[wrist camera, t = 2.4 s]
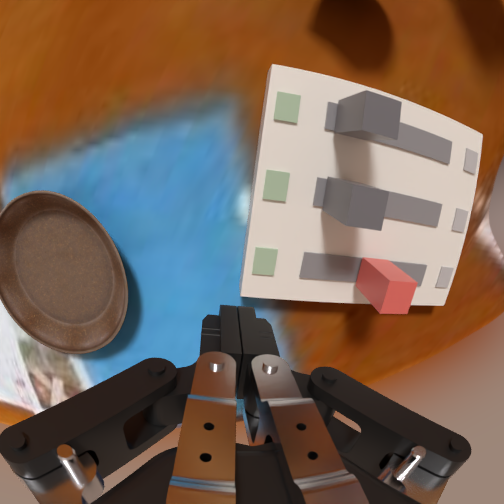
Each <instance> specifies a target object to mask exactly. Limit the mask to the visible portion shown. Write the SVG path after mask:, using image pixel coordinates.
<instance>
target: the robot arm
mask: <svg viewBox="0 0 504 504" xmlns="http://www.w3.org/2000/svg"><path fill="white" fill-rule="evenodd" d="M235 396H237V399H244V408H243V419H244V423H245V428H246V433H247V437H248V442H249V446H248V445H243V444H238V443H236V400H235ZM335 410H336V411H337V412H339V413H341V414H342V415H344V416H346V417H347V418H349V419H351V420H352V421H354V422H355V423H357V424H358V425H359V426H360V428H361V433H360V432H358V431H356V430H354V429H353V428H351V427H349V426H348V425H346V424H345V423H343V422H341V421H340V420H338V419H336V418H335V417H333V415H334V413H335ZM180 423H182V427H181V432H180V437H179V442H178V447H175V448H172V449H168V450H166V451H164V452H162V453H160V454H158V455H156V456H154V457H153V458H151V460H149V461H148V462H146V463H145V464H144V465H142V466H141V467H140V468H139V469H137V470H136V471H135V472H134V473H132V474H131V475H129V476H128V477H127V478H125V479H124V480H123V481H121V482H120V483H119V484H117V485H116V486H115V487H113V488H112V489H111V490H109V491H108V492H106V493H105V494H103V495H102V496H101V497H99V496H100V495H101V494H102V492H103V490H104V480H103V479H104V478H105V477H106V476H108V475H110V474H111V473H113V472H114V471H116V470H117V469H119V468H120V467H122V466H123V465H125V464H126V463H128V462H129V461H131V460H132V459H134V458H135V457H137V456H138V455H140V454H141V453H142V452H144V451H145V450H147V449H148V448H150V447H151V446H152V445H154V444H155V443H157V442H158V441H159V440H161V439H162V438H163V437H165V436H166V435H168V434H169V433H170V432H172V431H173V430H174V429H175V428H176V427H177V424H180ZM0 453H1V454H2V456H3V457H4V459H5V460H6V461H7V463H8V464H9V465H10V467H11V469H12V471H13V472H14V473H15V474H16V476H17V477H18V478H19V479H20V481H21V482H22V483H23V484H24V485H25V486H26V488H27V489H28V490H30V491H31V492H32V494H33V495H34V496H35V498H36V499H37V501H38V502H39V504H437V502H438V500H439V498H440V496H441V494H442V492H443V490H444V488H445V486H446V484H447V482H448V479H449V478H450V477H451V476H452V475H453V474H454V473H455V472H456V471H457V470H458V469H459V468H460V467H461V466H462V465H463V464H464V463H465V462H466V460H467V459H468V458H469V456H470V455H471V447H470V444H469V442H468V441H467V440H466V439H465V438H464V437H463V436H461V435H459V434H457V433H455V432H453V431H451V430H449V429H447V428H445V427H442V426H441V425H438V424H436V423H435V422H433V421H431V420H429V419H427V418H425V417H423V416H421V415H419V414H417V413H415V412H413V411H411V410H409V409H407V408H405V407H404V406H402V405H400V404H398V403H396V402H394V401H392V400H390V399H389V398H387V397H385V396H383V395H381V394H379V393H378V392H376V391H374V390H372V389H371V388H369V387H367V386H365V385H363V384H362V383H360V382H358V381H356V380H355V379H353V378H351V377H349V376H348V375H346V374H344V373H342V372H341V371H339V370H337V369H334V368H331V367H319V368H316V369H314V370H313V371H312V373H311V375H307V374H302V373H298V372H295V371H292V370H290V367H289V365H288V363H287V362H286V361H285V360H284V359H282V358H280V355H279V351H278V348H277V344H276V341H275V337H274V334H273V330H272V327H271V325H270V324H269V322H268V321H267V320H266V319H261V318H256V315H255V310H254V307H243V306H230V305H220V310H219V315H207V316H206V317H205V318H204V319H203V320H202V332H201V345H200V356H199V358H198V360H197V361H196V362H195V363H194V364H192V365H190V366H187V367H182V368H176V367H175V365H174V364H173V363H171V362H170V361H168V360H166V359H162V358H149V359H145V360H143V361H141V362H139V363H138V364H136V365H134V366H132V367H130V368H128V369H126V370H124V371H122V372H121V373H119V374H117V375H115V376H113V377H111V378H109V379H107V380H105V381H103V382H101V383H99V384H97V385H95V386H93V387H91V388H89V389H87V390H85V391H83V392H81V393H79V394H77V395H75V396H73V397H71V398H69V399H67V400H65V401H63V402H61V403H59V404H57V405H55V406H53V407H51V408H49V409H47V410H45V411H43V412H40V413H38V414H36V415H34V416H32V417H30V418H28V419H26V420H23V421H21V422H19V423H17V424H15V425H12V426H10V427H8V428H6V429H5V430H4V431H3V432H2V433H1V435H0ZM98 497H99V498H98ZM97 498H98V499H97Z"/></svg>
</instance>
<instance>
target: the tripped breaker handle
mask: <svg viewBox="0 0 504 504" xmlns="http://www.w3.org/2000/svg"><path fill="white" fill-rule="evenodd" d="M417 284H418V282H416V281H415V280H414V279H412V278H411V277H410V276H409V275H407V274H406V273H405V272H403V271H402V270H401V269H400V268H398V267H397V266H396V265H394V264H393V263H392V262H390V261H389V260H385V259H375V258H366V257H363V258H362V262H361V266H360V270H359V274H358V277H357V281H356V285H355V286H356V287H357V288H358V289H359V291H360V292H361V293H362V294H363V295H364V296H365V297H366V298H367V300H368V301H369V302H370V303H371V304H372V305H373V306H374V308H375V309H376V310H377V311H378V312H379V313H380V314H407V313H408V310H409V308H410V305H411V302H412V299H413V296H414V293H415V290H416V287H417Z"/></svg>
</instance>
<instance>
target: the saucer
mask: <svg viewBox="0 0 504 504" xmlns="http://www.w3.org/2000/svg"><path fill="white" fill-rule="evenodd" d="M0 299H1V301H2V303H3V305H4V306H5V308H6V310H7V311H8V313H9V314H10V316H11V317H12V318H13V320H14V321H15V322H16V323H17V324H18V325H19V326H20V327H21V328H22V329H23V330H24V331H25V332H26V333H27V334H28V335H29V336H31V337H32V338H33V339H35V340H37V341H38V342H40V343H41V344H43V345H45V346H47V347H49V348H51V349H54V350H57V351H60V352H64V353H71V354H83V353H89V352H93V351H96V350H98V349H100V348H102V347H104V346H105V345H107V344H108V343H109V342H111V341H112V340H113V339H114V337H115V336H116V335H117V334H118V332H119V330H120V328H121V326H122V324H123V322H124V319H125V315H126V312H127V306H128V285H127V278H126V274H125V270H124V266H123V263H122V260H121V258H120V255H119V253H118V250H117V248H116V246H115V244H114V242H113V241H112V239H111V237H110V236H109V234H108V232H107V231H106V230H105V228H104V227H103V226H102V224H101V223H100V222H99V221H98V220H97V219H96V218H95V216H94V215H93V214H91V213H90V212H89V211H88V210H87V209H86V208H85V207H83V206H82V205H81V204H79V203H78V202H76V201H74V200H73V199H71V198H69V197H67V196H64V195H62V194H59V193H56V192H51V191H32V192H28V193H25V194H22V195H20V196H18V197H16V198H14V199H13V200H12V201H11V202H9V203H8V204H7V205H6V207H5V208H4V209H3V210H2V212H1V213H0Z"/></svg>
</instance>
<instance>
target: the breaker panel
mask: <svg viewBox="0 0 504 504" xmlns="http://www.w3.org/2000/svg"><path fill="white" fill-rule="evenodd" d="M482 137H483V134H481V133H479V132H477V131H475V130H473V129H471V128H469V127H467V126H465V125H463V124H461V123H459V122H457V121H455V120H453V119H450V118H448V117H446V116H444V115H442V114H439V113H437V112H435V111H432V110H430V109H428V108H425V107H423V106H420V105H418V104H415V103H413V102H410V101H407V100H405V99H402V98H399V97H397V96H394V95H391V94H388V93H385V92H382V91H379V90H376V89H373V88H370V87H367V86H363V85H360V84H357V83H353V82H350V81H346V80H343V79H339V78H335V77H331V76H327V75H323V74H319V73H314V72H310V71H305V70H301V69H296V68H291V67H286V66H280V65H274V64H272V65H271V67H270V69H269V70H268V76H267V83H266V90H265V97H264V104H263V111H262V118H261V125H260V132H259V140H258V147H257V154H256V162H255V169H254V176H253V184H252V191H251V199H250V206H249V214H248V221H247V229H246V237H245V244H244V252H243V260H242V267H241V275H240V283H239V288H240V296H243V297H255V298H269V299H283V300H299V301H316V302H335V303H357V304H371V303H370V302H369V301H368V300H367V298H366V297H365V296H364V295H363V294H362V293H361V292H360V291H359V289H358V288H357V287H356V286H355V285H356V281H357V277H358V274H359V270H360V266H361V262H362V258H363V257H366V258H375V259H385V260H389V261H390V262H392V263H393V264H394V265H396V266H397V267H398V268H400V269H401V270H402V271H403V272H405V273H406V274H407V275H409V276H410V277H411V278H412V279H414V280H415V281H416V282H418V284H417V287H416V290H415V293H414V296H413V299H412V302H411V305H439V306H444V304H445V301H446V298H447V295H448V292H449V290H450V287H451V284H452V281H453V278H454V274H455V271H456V268H457V265H458V261H459V258H460V254H461V251H462V247H463V243H464V240H465V236H466V232H467V228H468V223H469V219H470V215H471V210H472V205H473V200H474V195H475V189H476V184H477V177H478V171H479V164H480V156H481V147H482Z"/></svg>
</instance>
